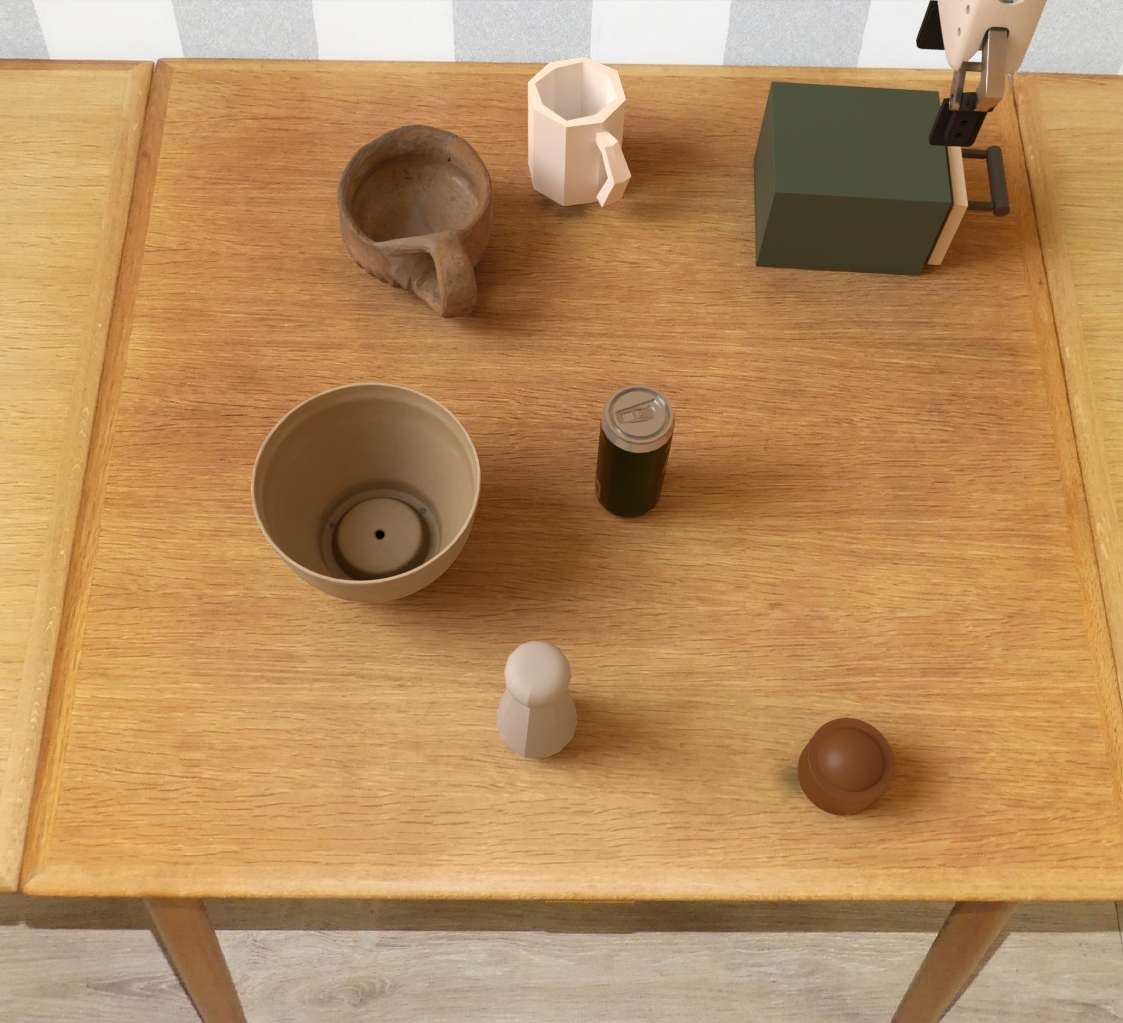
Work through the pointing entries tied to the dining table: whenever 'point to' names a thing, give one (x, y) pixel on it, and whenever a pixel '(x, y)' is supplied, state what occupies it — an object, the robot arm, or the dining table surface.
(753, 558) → the dining table surface
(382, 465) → the planter bowl
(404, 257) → the brown clay cup
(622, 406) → the beer can
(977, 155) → the drawer
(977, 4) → the robot arm
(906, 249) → the cabinet
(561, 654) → the salt shaker
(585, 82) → the mug
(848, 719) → the brown dome knob
